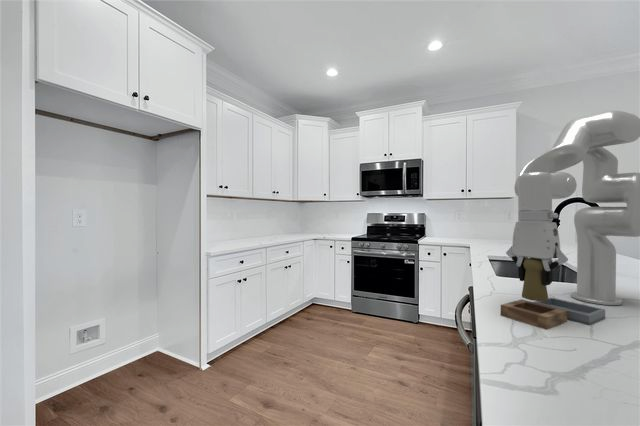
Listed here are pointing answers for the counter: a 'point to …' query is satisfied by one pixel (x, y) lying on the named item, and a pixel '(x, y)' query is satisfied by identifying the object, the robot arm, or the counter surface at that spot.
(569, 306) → the tray
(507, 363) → the counter surface
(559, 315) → the socket block
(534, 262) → the cork
